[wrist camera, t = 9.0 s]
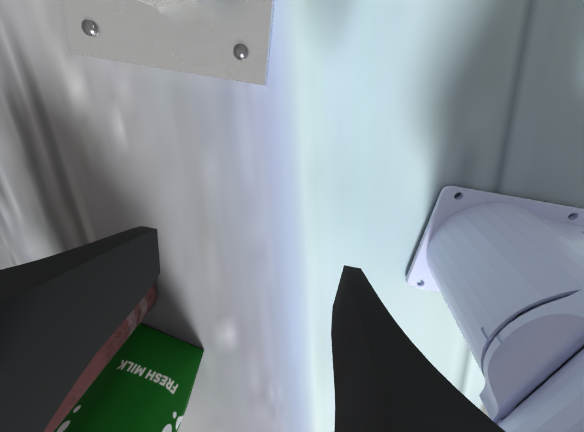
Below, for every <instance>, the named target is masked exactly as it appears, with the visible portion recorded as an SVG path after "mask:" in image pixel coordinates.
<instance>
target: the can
mask: <svg viewBox="0 0 584 432" xmlns="http://www.w3.org/2000/svg"><path fill="white" fill-rule="evenodd" d="M155 302H156V286H155V283H153V285H152V286H151V288H150V289H149V291H148V292H147V294H146V295H145V296H144V298H143V299H142V300H141V301H140V302H139V304H138V305H137V306H136V307H135V308H134V309H133V311H132V312H131V313H130V314H129V315H128V317H127V318H126V319H125V320H124V321H123V322H122V324H121V325H120V326H119V327H118V328H117V329H116V331H115V332H114V333H113V334H112V335H111V336H110V338H109V339H108V340H107V341H106V342H105V343H104V345H103V346H102V347H101V348H100V350H99V351H98V352H97V353H96V355H95V356H94V357H93V359H92V360H91V362H90V363H89V364H88V366H87V367H86V369H85V370H84V371H83V373H82V374H81V376H80V377H79V379H78V380H77V381H76V383H75V384H74V386H73V387H72V389H71V390H70V392H69V393H68V395H67V396H66V398H65V399H64V401H63V402H62V404H61V405H60V407H59V408H58V410H57V411H56V413H55V414H54V416H53V417H52V419H51V421H50V422H49V424H48V426H47V427H46V429H45V430H44V432H54V431H55V429H56V428H57V427H58V426H59V424H60V423H61V422H62V421H63V419H64V418H65V417H66V416H67V414H68V413H69V412H70V410H71V409H72V408H73V407H74V405H75V404H76V403H77V402H78V400H79V399H80V398H81V397H82V395H83V394H84V393H85V392H86V390H87V389H88V388H89V387H90V385H91V384H92V383H93V381H94V380H95V379H96V378H97V376H98V375H99V374H100V373H101V371H102V370H103V369H104V368H105V366H106V365H107V364H108V363H109V361H110V360H111V359H112V357H113V356H114V355H115V354H116V352H117V351H118V350H119V349H120V347H121V346H122V345H123V344H124V342H125V341H126V340H127V339H128V337H129V336H130V335H131V334H132V332H133V331H134V330H135V328H136V327H137V326H138V325H139V323H140V322H141V321H142V320H143V318H144V317H145V316H146V315H147V313H148V312H149V311H150V310H151V308H152V307H153V305H154V303H155Z"/></svg>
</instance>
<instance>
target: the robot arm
mask: <svg viewBox="0 0 584 432" xmlns="http://www.w3.org/2000/svg"><path fill="white" fill-rule="evenodd" d="M458 192H461V195H460V196H459V197H457V198H454V195H455V194H456V193H458ZM572 213H573V215H572V216H571V217H569V215H570V214H572ZM568 217H569V218H568ZM159 273H160V264H159V250H158V237H157V229H154V228H148V227H143V226H141V227H137V228H133V229H130V230H127V231H124V232H121V233H118V234H115V235H112V236H109V237H107V238H104V239H101V240H98V241H95V242H92V243H90V244H87V245H84V246H81V247H78V248H75V249H72V250H69V251H65V252H62V253H59V254H56V255H53V256H50V257H47V258H43V259H40V260H37V261H33V262H29V263H26V264H22V265H18V266H14V267H10V268H6V269H2V270H0V432H44V430H45V429H46V427H47V426H48V424H49V422H50V421H51V419H52V417H53V416H54V414H55V413H56V411H57V410H58V408H59V407H60V405H61V404H62V402H63V401H64V399H65V398H66V396H67V395H68V393H69V392H70V390H71V389H72V387H73V386H74V384H75V383H76V381H77V380H78V379H79V377H80V376H81V374H82V373H83V371H84V370H85V369H86V367H87V366H88V364H89V363H90V362H91V360H92V359H93V357H94V356H95V355H96V353H97V352H98V351H99V350H100V348H101V347H102V346H103V345H104V343H105V342H106V341H107V340H108V339H109V338H110V336H111V335H112V334H113V333H114V332H115V331H116V329H117V328H118V327H119V326H120V325H121V324H122V322H123V321H124V320H125V319H126V318H127V317H128V315H129V314H130V313H131V312H132V311H133V309H134V308H135V307H136V306H137V305H138V304H139V302H140V301H141V300H142V299H143V298H144V296H145V295H146V294H147V292H148V291H149V289H150V288H151V286H152V285H153V283H154V282H155V280H156V278H157V277H158V275H159ZM420 280H422V282H420V283H418V281H420ZM406 282H407V284H408V285H409V286H411V287H415V288H420V289H426V290H431V291H436V292H441V294H442V296H443V297H444V299H445V301H446V303H447V305H448V307H449V309H450V311H451V313H452V315H453V317H454V319H455V321H456V323H457V325H458V327H459V329H460V331H461V333H462V334H463V336H464V338H465V340H466V342H467V344H468V346H469V348H470V350H471V352H472V354H473V356H474V358H475V360H476V362H477V364H478V366H479V368H480V370H481V371H482V373H483V375H484V377H485V387H484V389H483V391H482V392H481V393H480V395H479V396H480V398H481V400H482V402H483V404H484V407H485V409H486V411H487V413H488V415H489V417H490V418H489V417H488V416H487V415H485V414H484V413H483V412H482V411H481V410H480V409H478V408H477V407H476V406H475V405H474V404H473V403H472V402H471V401H469V400H468V399H467V398H466V397H465V396H464V395H463V394H462V393H461V392H460V391H458V390H457V389H456V388H455V387H454V386H453V385H452V384H451V383H450V382H449V381H448V380H447V379H446V378H445V377H444V376H443V375H442V374H441V373H440V372H439V371H438V370H437V369H436V368H435V367H434V366H433V365H432V364H431V363H430V362H429V361H428V360H427V358H426V357H425V356H424V355H423V354H422V353H421V352H420V351H419V349H418V348H417V347H416V346H415V345H414V344H413V343H412V342H411V340H410V339H409V338H408V337H407V336H406V334H405V333H404V332H403V331H402V329H401V328H400V327H399V325H398V324H397V323H396V321H395V320H394V319H393V317H392V316H391V315H390V313H389V312H388V310H387V309H386V307H385V306H384V304H383V303H382V302H381V300H380V299H379V297H378V295H377V294H376V292H375V291H374V289H373V288H372V286H371V284H370V283H369V281H368V279H367V278H366V276H365V274H364V273H363V271H362V270H361V269H360V268H355V267H350V266H345V265H344V268H343V272H342V275H341V279H340V283H339V286H338V290H337V293H336V297H335V301H334V304H333V311H332V328H331V337H332V354H333V370H334V386H335V432H584V209H582V208H576V207H571V206H565V205H559V204H554V203H548V202H542V201H537V200H531V199H525V198H520V197H514V196H508V195H503V194H497V193H491V192H485V191H480V190H474V189H468V188H463V187H457V186H446V187H444V188H443V189H442V190H441V192H440V195H439V197H438V200H437V202H436V205H435V207H434V210H433V212H432V214H431V217H430V219H429V222H428V224H427V227H426V229H425V232H424V234H423V237H422V239H421V242H420V244H419V247H418V249H417V252H416V254H415V257H414V259H413V262H412V264H411V267H410V269H409V272H408V274H407V277H406Z"/></svg>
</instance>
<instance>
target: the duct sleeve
mask: <svg viewBox="0 0 584 432" xmlns="http://www.w3.org/2000/svg"><path fill="white" fill-rule="evenodd" d="M138 1H140V2H143V3H145V4H148V5H150V6H153V7H155V8H162V7H167V6H173V5H179V4H184V3H190V2H196V1H197V0H138Z"/></svg>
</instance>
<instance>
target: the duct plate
mask: <svg viewBox="0 0 584 432" xmlns="http://www.w3.org/2000/svg"><path fill="white" fill-rule="evenodd" d="M62 2H63V8H64V14H65V19H66V25H67V31H68V37H69V42H70V48H71V54H77V55H83V56H89V57H95V58H101V59H107V60H113V61H120V62H126V63H132V64H138V65H144V66H150V67H156V68H162V69H168V70H174V71H180V72H187V73H193V74H199V75H205V76H211V77H217V78H223V79H229V80H235V81H241V82H247V83H254V84H260V85H266V82H267V71H268V61H269V50H270V40H271V29H272V19H273V8H274V0H197V1H196V2H190V3H184V4H179V5H173V6H167V7H162V8H155V7H153V6H150V5H148V4H145V3H143V2H140V1H138V0H62Z"/></svg>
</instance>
